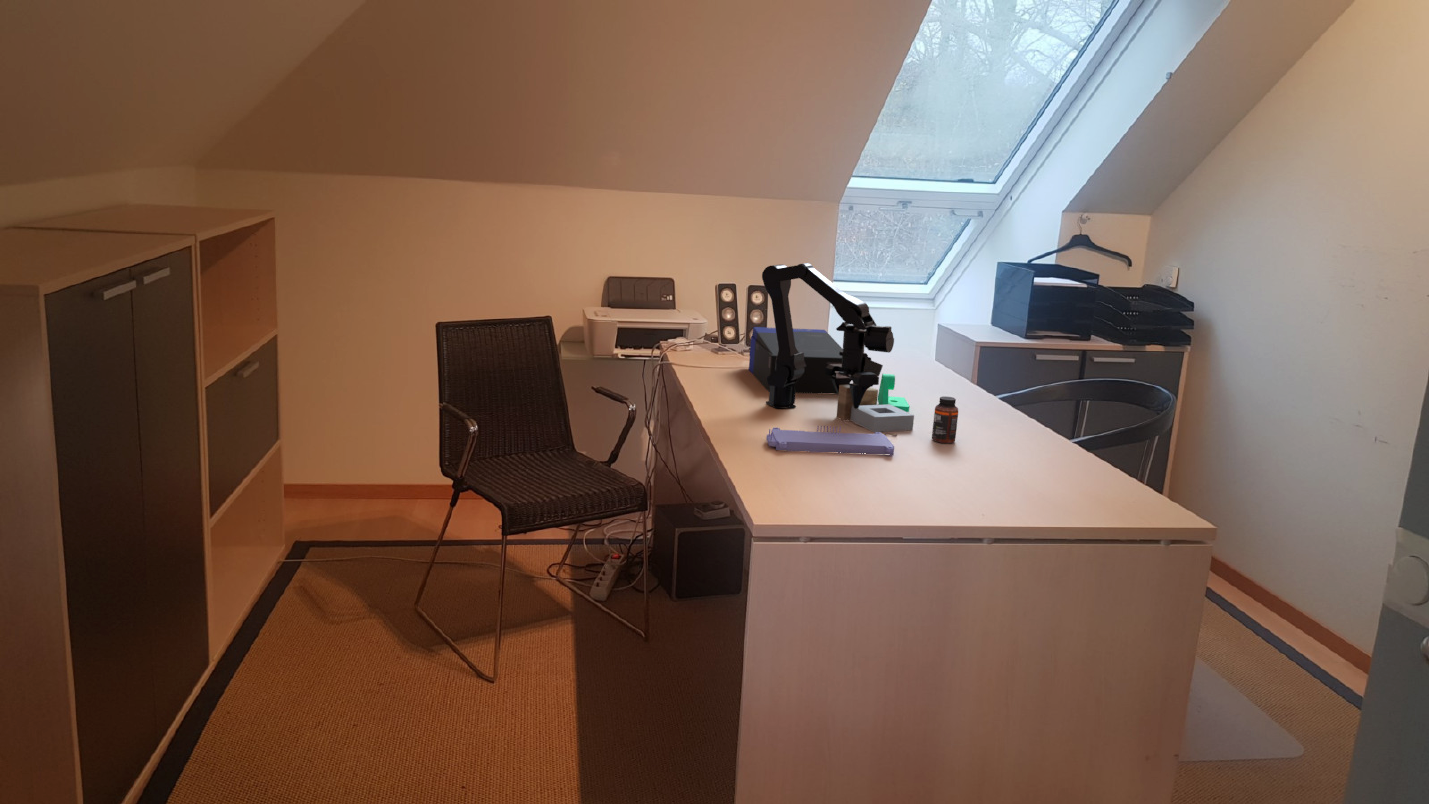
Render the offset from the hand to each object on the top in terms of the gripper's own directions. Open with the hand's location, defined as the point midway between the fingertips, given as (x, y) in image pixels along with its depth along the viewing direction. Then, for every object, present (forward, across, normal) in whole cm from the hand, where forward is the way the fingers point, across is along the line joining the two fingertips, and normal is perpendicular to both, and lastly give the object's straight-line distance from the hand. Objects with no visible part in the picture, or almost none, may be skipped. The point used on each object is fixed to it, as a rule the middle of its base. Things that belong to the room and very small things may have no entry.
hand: (849, 406), depth 284 cm
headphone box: (+2, +48, -8) cm, 48 cm away
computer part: (+6, -23, +19) cm, 30 cm away
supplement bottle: (+5, -24, -14) cm, 28 cm away
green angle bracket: (+4, +9, -20) cm, 22 cm away
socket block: (+4, -7, -6) cm, 10 cm away
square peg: (+4, +1, 0) cm, 4 cm away
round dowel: (+3, +9, -11) cm, 15 cm away
